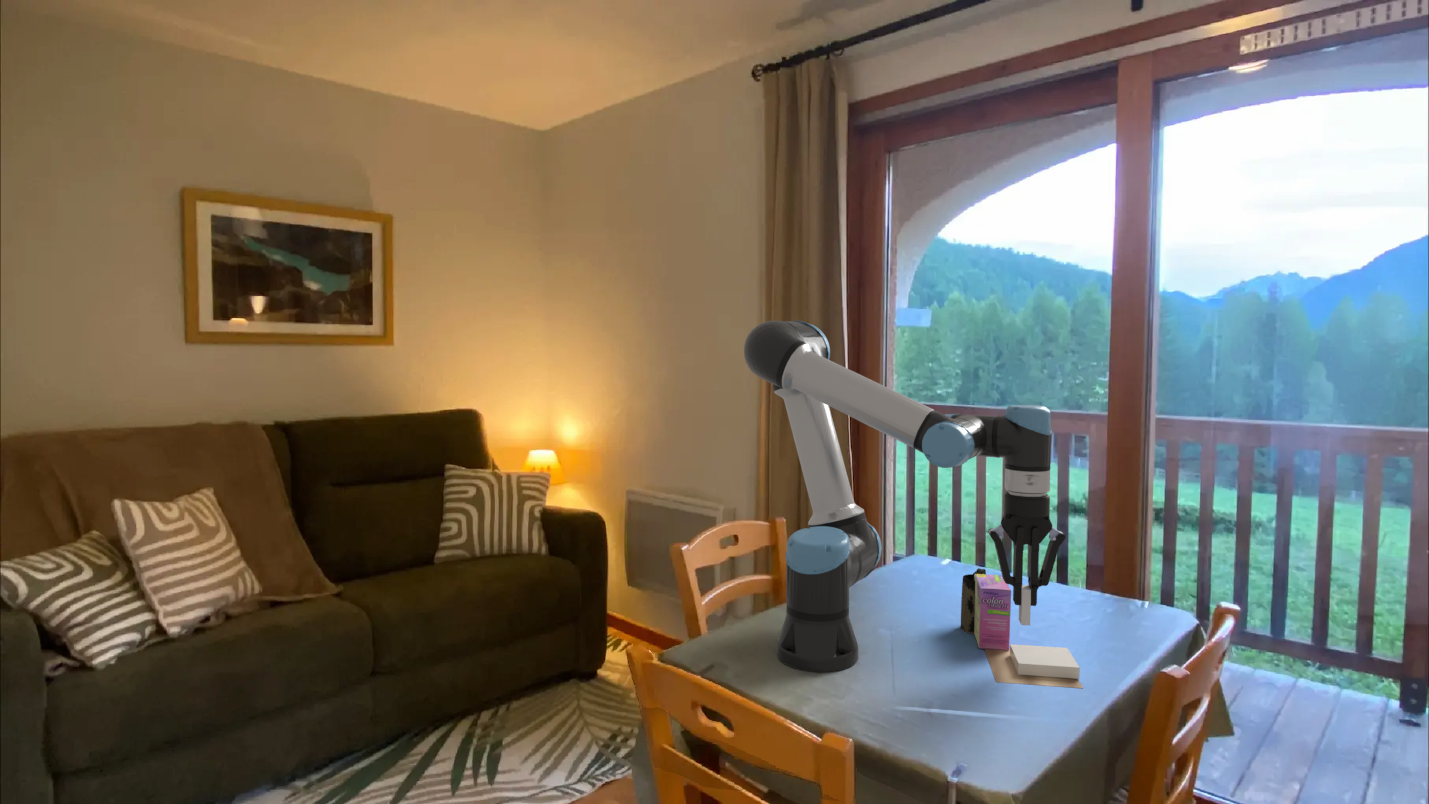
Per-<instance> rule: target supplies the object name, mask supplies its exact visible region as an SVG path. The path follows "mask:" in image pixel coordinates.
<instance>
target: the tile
mask: <svg viewBox="0 0 1429 804" xmlns="http://www.w3.org/2000/svg"><path fill="white" fill-rule="evenodd" d="M1068 648H1069V647H1056V646H1043V645H1026V644H1011V643H1009V649H1010V657H1011V659H1012V661H1013V663H1014V666H1015V668H1016V670H1017V673H1018V675H1030V676H1044V677H1058V678H1072V679H1078V680H1079V679H1080V674H1081V673H1080V670H1081V668H1080V666H1079V665H1078V663H1077V660H1076V659H1075V658H1074V656H1073V654H1072V653H1071V652H1070V649H1068Z"/></svg>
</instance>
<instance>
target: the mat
mask: <svg viewBox="0 0 1429 804" xmlns="http://www.w3.org/2000/svg"><path fill="white" fill-rule="evenodd" d="M983 650H984V653H985V655H986V657H987V658H986V659H987V661H988V663H989V667H990V669H991V672H992V675H993V677H994V680H995V683H1001V684H1016V685H1017V684H1018V685H1028V686H1043V687H1056V688H1071V689H1084V687H1083V685H1082V684H1081V682H1080V680H1079V679H1072V678H1058V677H1044V676H1030V675H1018V673H1017V670H1016V668H1015V666H1014V663H1013V661H1012V659H1011V657H1010V648H1009V651H1005V650H991V649H983Z"/></svg>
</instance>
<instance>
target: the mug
mask: <svg viewBox="0 0 1429 804" xmlns="http://www.w3.org/2000/svg"><path fill="white" fill-rule="evenodd" d="M974 574H986V575H987V571H986V568H977V569H976V571H974V572H973V573H972V574H964V575H963V576H962V583H961V584H962V585H961V601H960V602H961V604H960V608H961V609H960V629H961V631H962V632H965V633H968V634H973V635H975V634H974V623H975V581H974Z"/></svg>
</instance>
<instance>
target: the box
mask: <svg viewBox="0 0 1429 804" xmlns="http://www.w3.org/2000/svg"><path fill="white" fill-rule="evenodd" d="M974 581H975V623H974V634H973V635H974V637H975V640H976V643H977V646H978V649H981V650H982V649H983V650H984V649H991V650H1005V651H1009V649H1010V640H1011V639H1010V636H1011V611H1012V609H1011V607H1012V590H1011V588H1010V586H1009V584H1006V583H1005V581H1004V579H1003V577H1002V574H1001V575H999V574H987V573H986V574H974Z"/></svg>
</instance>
